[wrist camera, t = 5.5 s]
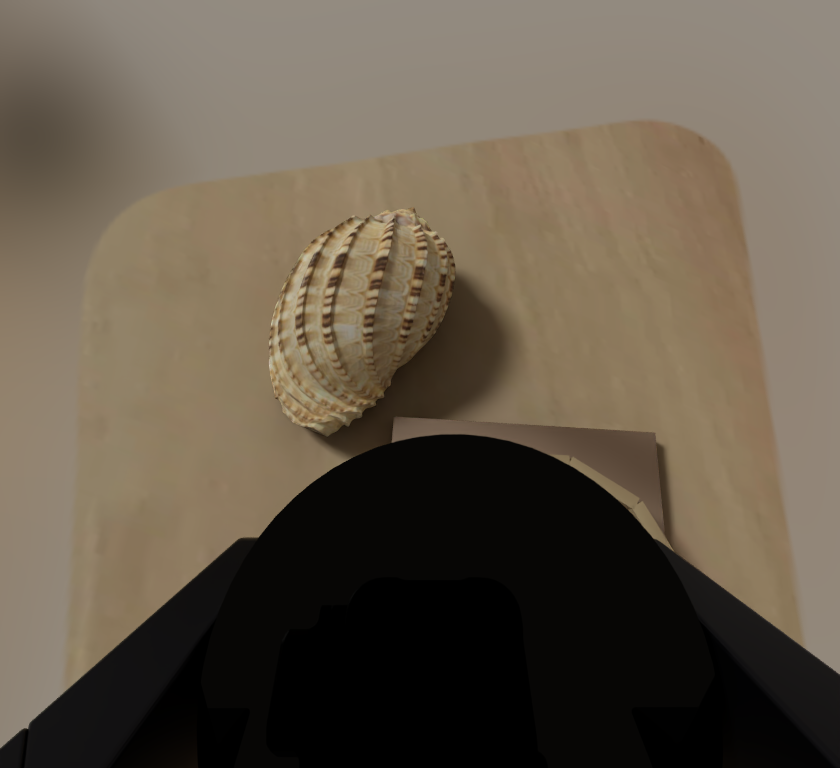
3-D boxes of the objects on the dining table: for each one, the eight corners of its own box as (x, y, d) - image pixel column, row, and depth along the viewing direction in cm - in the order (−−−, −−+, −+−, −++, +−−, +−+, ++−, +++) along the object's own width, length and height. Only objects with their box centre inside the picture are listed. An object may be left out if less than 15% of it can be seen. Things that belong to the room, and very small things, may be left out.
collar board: (682, 835, 17) (721, 878, 15) (363, 813, 17) (355, 851, 15) (646, 436, 21) (672, 424, 19) (394, 421, 21) (392, 406, 19)
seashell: (435, 427, 24) (461, 222, 23) (433, 459, 18) (467, 186, 17) (282, 408, 25) (300, 204, 24) (232, 434, 19) (252, 162, 18)
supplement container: (576, 645, 14) (842, 795, 5) (395, 777, 13) (354, 1237, 4) (463, 466, 15) (523, 355, 7) (294, 570, 14) (115, 591, 6)
